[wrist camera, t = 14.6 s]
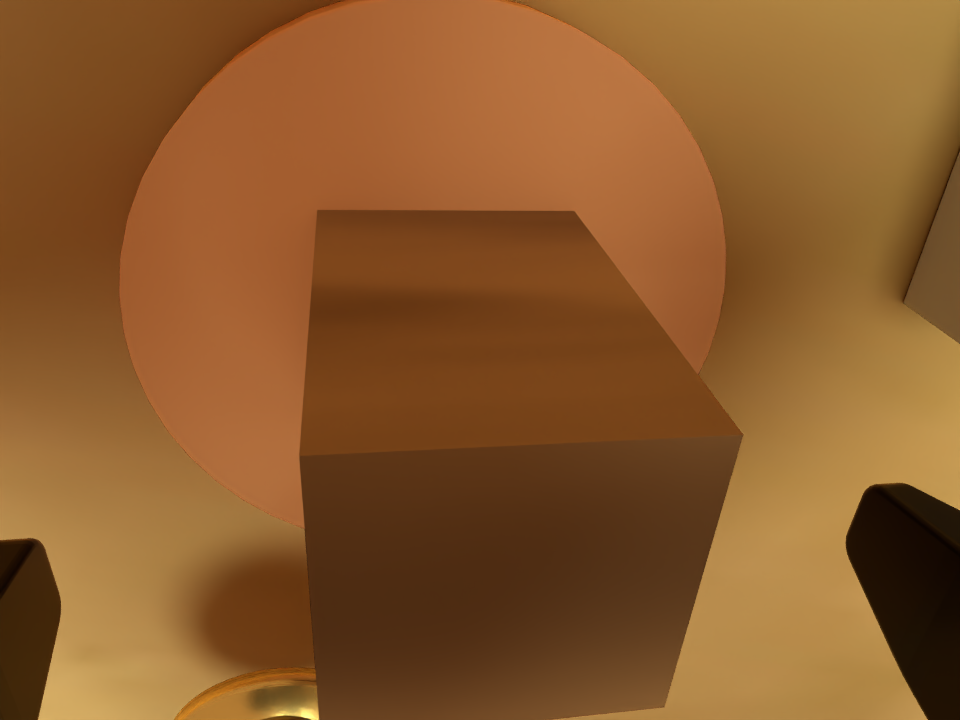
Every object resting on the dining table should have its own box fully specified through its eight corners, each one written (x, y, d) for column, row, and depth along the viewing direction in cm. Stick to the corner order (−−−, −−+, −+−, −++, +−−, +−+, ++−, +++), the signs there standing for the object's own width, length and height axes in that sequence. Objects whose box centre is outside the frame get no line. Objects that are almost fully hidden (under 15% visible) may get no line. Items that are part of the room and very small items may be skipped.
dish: (648, 491, 17) (668, 528, 16) (182, 520, 16) (171, 563, 15) (756, 3, 12) (793, 13, 11) (79, -30, 10) (51, -22, 9)
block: (547, 417, 14) (664, 707, 9) (327, 426, 14) (321, 744, 8) (574, 210, 12) (742, 434, 7) (316, 209, 11) (299, 455, 6)
